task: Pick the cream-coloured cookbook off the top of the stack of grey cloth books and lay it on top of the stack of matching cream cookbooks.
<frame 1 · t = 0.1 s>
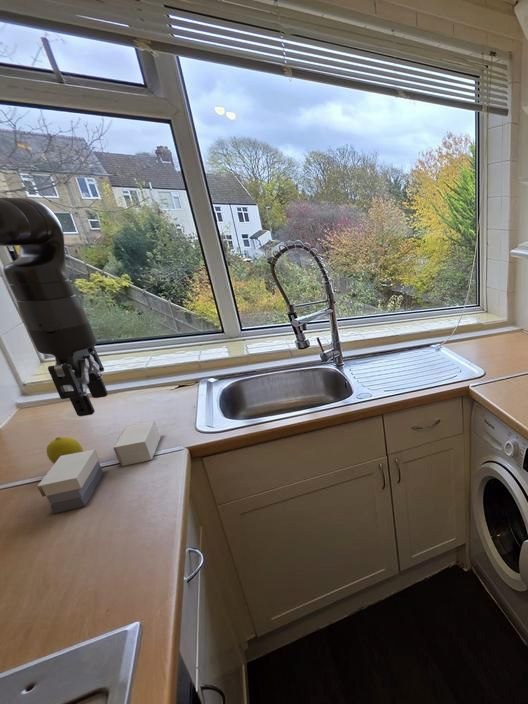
hand: (94, 405, 77), 22 cm above the worktop, tool pointing down, fingers open, 8 cm apart
lemon: (72, 467, 96), on the worktop
white book: (73, 476, 86), point 4 cm above the worktop, touching grey books
white stack: (142, 450, 102), on the worktop
grey books: (80, 491, 88), on the worktop
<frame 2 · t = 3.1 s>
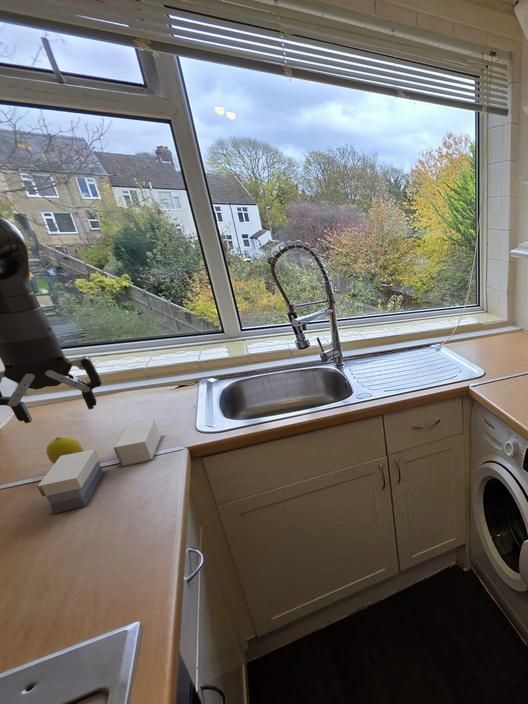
hand: (61, 414, 79), 19 cm above the worktop, tool pointing down, fingers open, 8 cm apart
nothing on the worktop moved.
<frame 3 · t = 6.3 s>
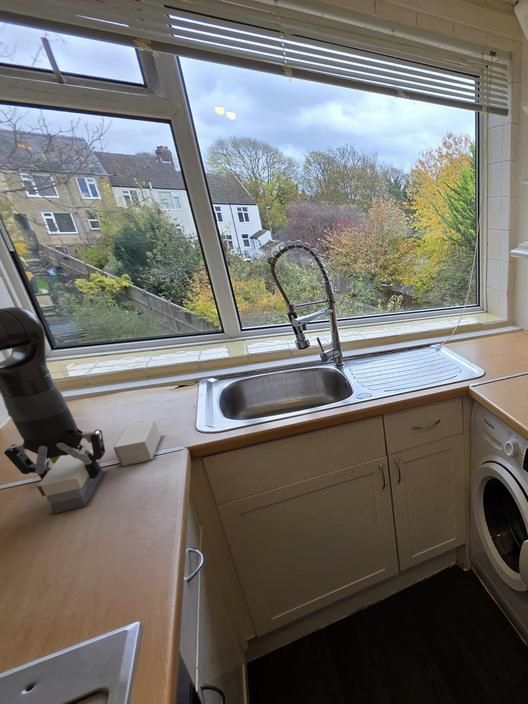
hand: (74, 480, 86), 3 cm above the worktop, tool pointing down, fingers closed on white book, 5 cm apart
white book: (73, 476, 86), point 4 cm above the worktop, touching grey books, gripper
everything else where it was.
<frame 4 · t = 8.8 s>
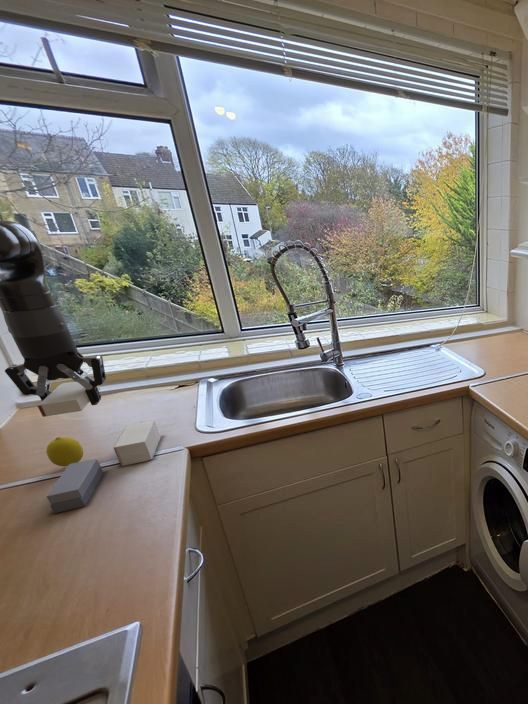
hand: (75, 406, 86), 18 cm above the worktop, tool pointing down, fingers closed on white book, 5 cm apart
white book: (73, 402, 86), point 19 cm above the worktop, touching gripper
everything else where it was.
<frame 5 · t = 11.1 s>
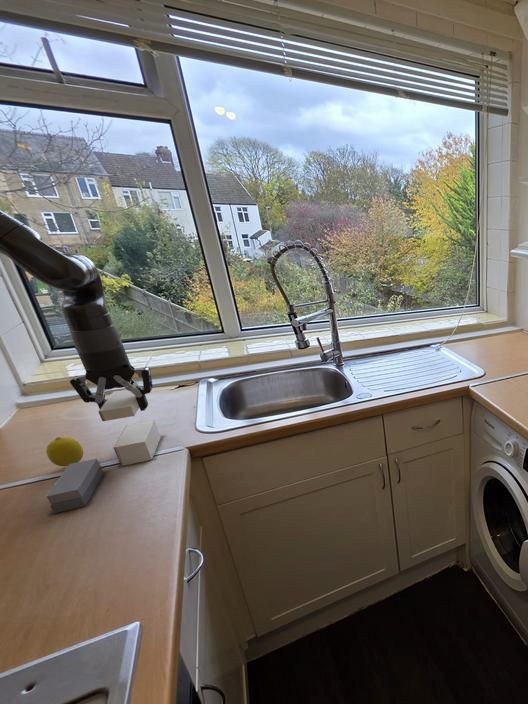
hand: (126, 412, 98), 11 cm above the worktop, tool pointing down, fingers closed on white book, 5 cm apart
white book: (125, 408, 98), point 12 cm above the worktop, touching gripper
everything else where it was.
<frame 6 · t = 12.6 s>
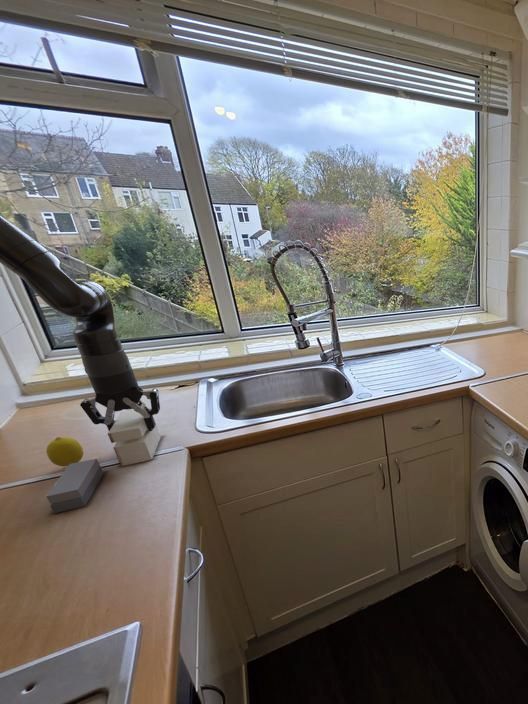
hand: (134, 432, 100), 5 cm above the worktop, tool pointing down, fingers closed on white book, 5 cm apart
white book: (133, 428, 100), point 6 cm above the worktop, touching gripper
everything else where it was.
when the fingers open (5 cm above the worktop, at t = 15.9 s): white book stays where it is, resting on white stack.
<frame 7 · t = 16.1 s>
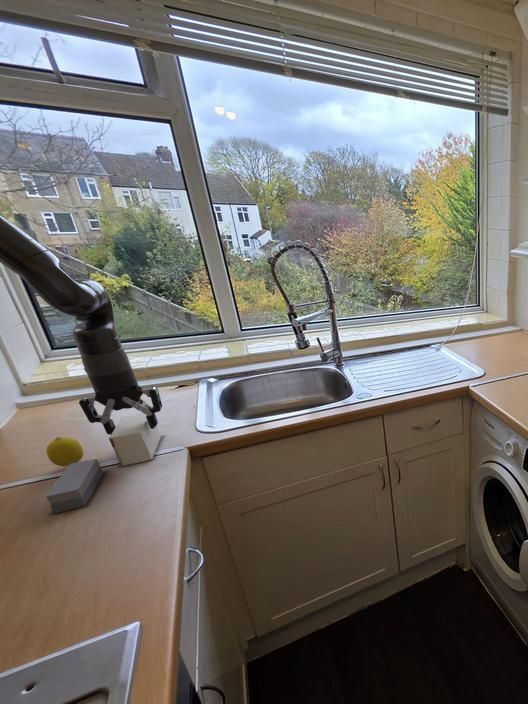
hand: (134, 430, 100), 6 cm above the worktop, tool pointing down, fingers open, 7 cm apart
white book: (134, 433, 100), point 5 cm above the worktop, touching white stack
everything else where it was.
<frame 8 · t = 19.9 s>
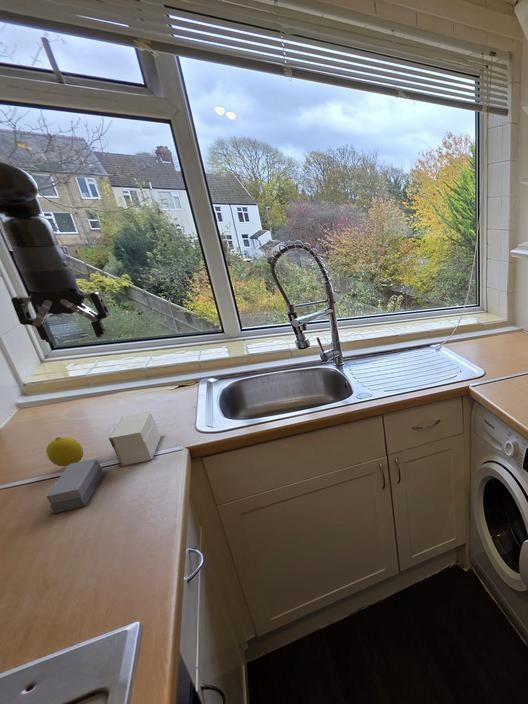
hand: (75, 338, 95), 28 cm above the worktop, tool pointing down, fingers open, 8 cm apart
nothing on the worktop moved.
at the end: white book 0.1 cm off-centre on the white stack, point 5.2 cm above the white stack's base; white book tilted 0°; the gripper is holding nothing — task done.
